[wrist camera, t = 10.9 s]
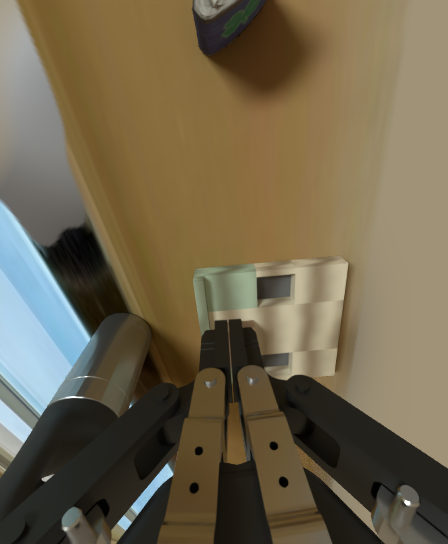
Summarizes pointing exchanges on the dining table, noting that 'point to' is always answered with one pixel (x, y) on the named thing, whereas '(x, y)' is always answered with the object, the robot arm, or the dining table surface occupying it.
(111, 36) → the dining table surface
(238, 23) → the flask
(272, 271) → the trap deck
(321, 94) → the dining table surface
